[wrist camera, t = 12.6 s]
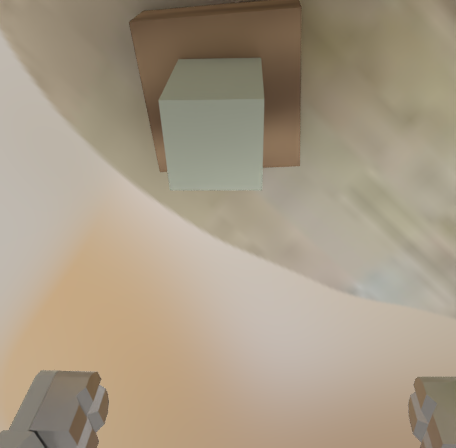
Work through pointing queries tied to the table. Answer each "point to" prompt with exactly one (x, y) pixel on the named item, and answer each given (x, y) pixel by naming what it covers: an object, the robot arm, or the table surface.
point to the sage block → (214, 124)
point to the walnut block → (228, 48)
